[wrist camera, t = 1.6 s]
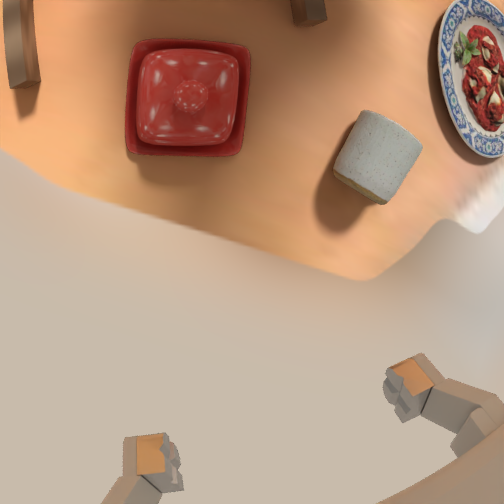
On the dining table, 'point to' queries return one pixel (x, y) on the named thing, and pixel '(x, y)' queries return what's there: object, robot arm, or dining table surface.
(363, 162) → the ceramic mug
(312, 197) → the dining table surface
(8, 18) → the dock
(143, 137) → the butter dish
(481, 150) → the ceramic plate
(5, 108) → the dining table surface
